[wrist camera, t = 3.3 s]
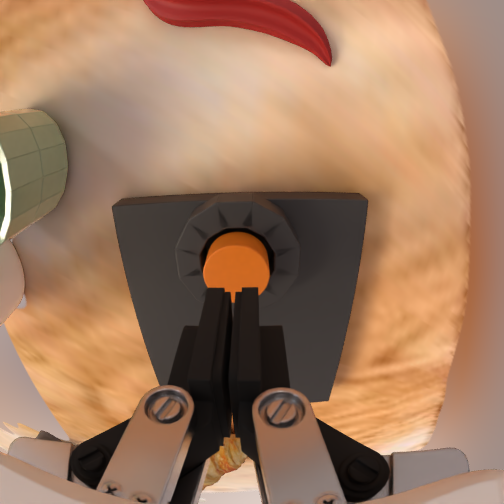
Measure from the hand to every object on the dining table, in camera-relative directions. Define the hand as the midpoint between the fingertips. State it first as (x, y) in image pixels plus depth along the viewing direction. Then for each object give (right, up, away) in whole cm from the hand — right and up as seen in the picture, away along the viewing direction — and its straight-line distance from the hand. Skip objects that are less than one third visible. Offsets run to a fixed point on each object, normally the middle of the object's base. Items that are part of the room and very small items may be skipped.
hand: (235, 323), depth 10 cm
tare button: (0, +2, +4) cm, 4 cm away
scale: (0, -2, +8) cm, 9 cm away
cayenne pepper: (-1, +15, +1) cm, 15 cm away
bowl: (-13, +8, +4) cm, 16 cm away
